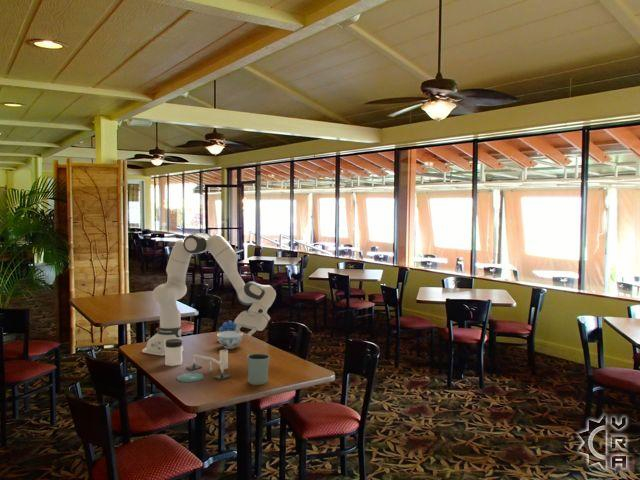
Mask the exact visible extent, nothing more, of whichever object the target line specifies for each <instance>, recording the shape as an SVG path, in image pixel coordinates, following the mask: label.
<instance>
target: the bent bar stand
mask: <svg viewBox="0 0 640 480" xmlns="http://www.w3.org/2000/svg"><path fill="white" fill-rule="evenodd" d="M197 358H198V359H201V360H202V359H203V360H207V361H208V360H209V373H212V372H213V363H215V364H217V365H219V366H220V365H221V369H220V374H218V375H214V376H213V379H215V380H217V381H220V382H221V381H223V380H227V379H231V375H230V374H228V373H227V374H225V373H224V370H223V363H222V362H220V360H217V359H215V358H214V357H210V356H204V355H199V354H192V365H188V366H186V367H185V370H189V371H196V370H200V369H202V368H203V366H202V365H199V364H196V359H197Z"/></svg>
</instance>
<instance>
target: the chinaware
mask: <svg viewBox="0 0 640 480" xmlns="http://www.w3.org/2000/svg"><path fill="white" fill-rule="evenodd" d="M216 336H217V340H218V342H219V343H220V345H222V346H223V348H224V349H226V350H229V349H235V348H236V347H237V346H238V345H239V344H240V343H241V342H242V339H243V337H244V332H241V331H240V332H239V333H236V332H235V331H225V332H220V331H219V332H218V333H217V334H216Z"/></svg>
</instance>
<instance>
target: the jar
mask: <svg viewBox="0 0 640 480" xmlns="http://www.w3.org/2000/svg"><path fill="white" fill-rule="evenodd" d="M165 345H166V347H165V355H164V362H165V363H164V364H165V366H170V367H175V366H180V365H182V363H183V352H182V346H183V340H182V338H181V339H169V340H166V343H165Z"/></svg>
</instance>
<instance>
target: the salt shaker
mask: <svg viewBox="0 0 640 480" xmlns="http://www.w3.org/2000/svg"><path fill="white" fill-rule="evenodd" d="M219 361H220V362H222V363H223V371H224V370H227V369H229V349H220V350H219ZM219 369H220V370H221V365H219Z"/></svg>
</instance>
